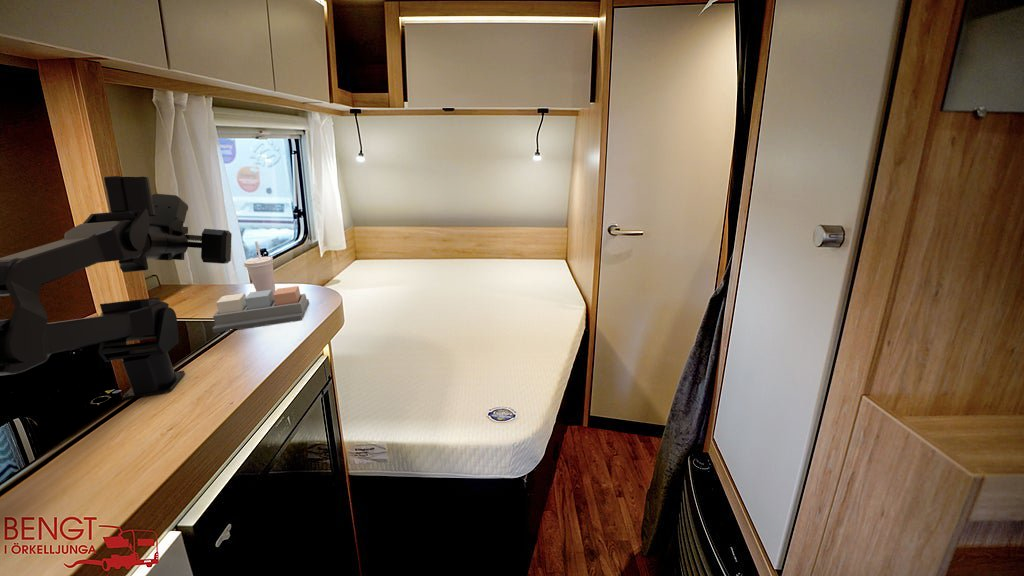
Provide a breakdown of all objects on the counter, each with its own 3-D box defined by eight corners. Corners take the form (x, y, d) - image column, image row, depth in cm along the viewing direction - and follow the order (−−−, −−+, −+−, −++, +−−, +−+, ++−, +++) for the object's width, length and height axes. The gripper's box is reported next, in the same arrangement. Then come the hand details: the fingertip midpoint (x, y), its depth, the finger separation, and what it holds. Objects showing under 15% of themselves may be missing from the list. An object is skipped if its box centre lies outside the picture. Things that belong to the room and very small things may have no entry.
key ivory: (242, 310, 99) (239, 299, 98) (219, 313, 98) (216, 302, 97) (247, 303, 103) (244, 293, 102) (225, 306, 102) (222, 296, 101)
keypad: (301, 319, 100) (298, 306, 99) (213, 333, 96) (209, 319, 95) (309, 303, 110) (306, 291, 109) (229, 314, 106) (226, 302, 105)
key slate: (270, 306, 100) (267, 295, 100) (247, 309, 99) (244, 298, 99) (274, 300, 104) (271, 289, 104) (253, 303, 103) (250, 292, 103)
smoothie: (287, 294, 117) (274, 240, 112) (262, 303, 112) (248, 246, 107) (272, 291, 120) (259, 238, 116) (248, 299, 115) (233, 244, 111)
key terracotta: (297, 302, 102) (295, 291, 101) (275, 305, 101) (273, 294, 100) (300, 296, 106) (298, 285, 105) (279, 299, 105) (277, 288, 104)
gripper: (211, 199, 79) (248, 207, 95) (87, 188, 76) (146, 199, 92) (209, 264, 80) (246, 262, 96) (86, 256, 77) (144, 255, 93)
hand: (196, 243), depth 94 cm, fingers open, 9 cm apart
